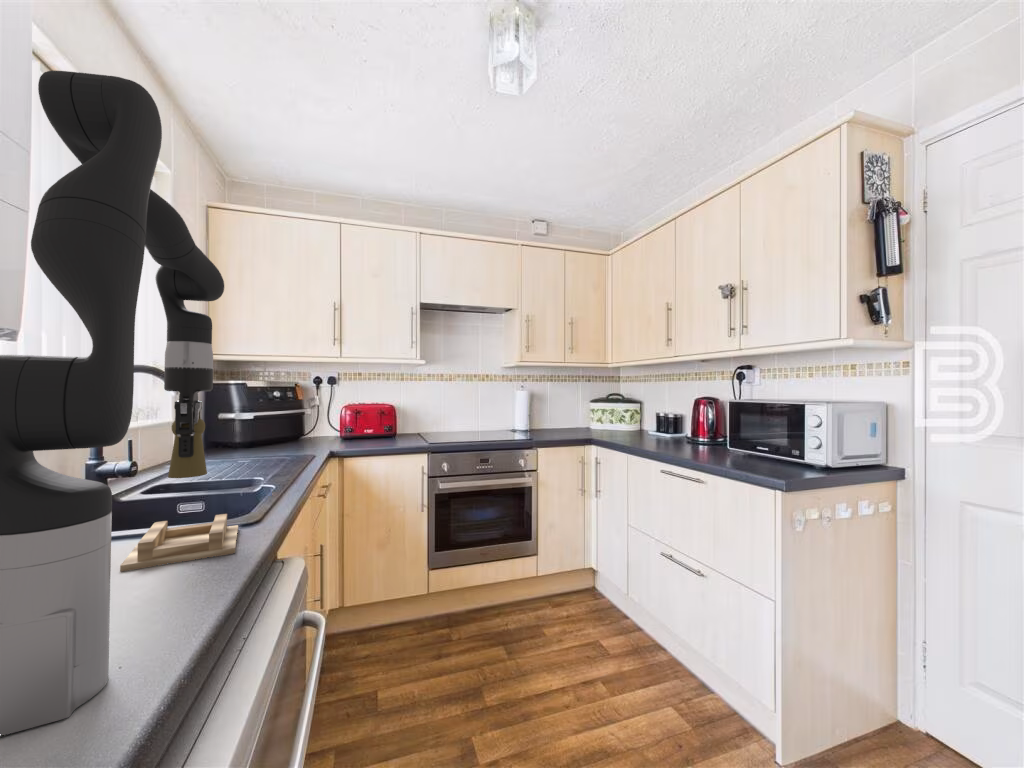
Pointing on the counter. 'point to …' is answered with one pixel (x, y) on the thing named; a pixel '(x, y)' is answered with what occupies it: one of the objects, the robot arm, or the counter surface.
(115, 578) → the counter surface
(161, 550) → the cradle
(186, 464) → the olive pepper mill
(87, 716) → the counter surface
